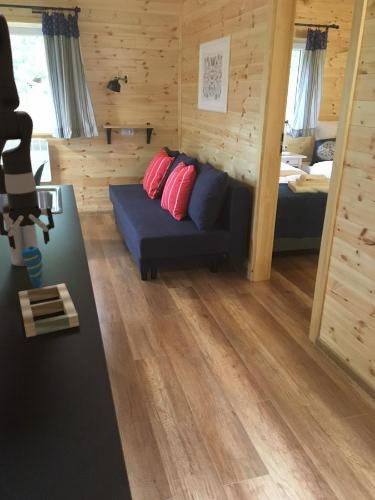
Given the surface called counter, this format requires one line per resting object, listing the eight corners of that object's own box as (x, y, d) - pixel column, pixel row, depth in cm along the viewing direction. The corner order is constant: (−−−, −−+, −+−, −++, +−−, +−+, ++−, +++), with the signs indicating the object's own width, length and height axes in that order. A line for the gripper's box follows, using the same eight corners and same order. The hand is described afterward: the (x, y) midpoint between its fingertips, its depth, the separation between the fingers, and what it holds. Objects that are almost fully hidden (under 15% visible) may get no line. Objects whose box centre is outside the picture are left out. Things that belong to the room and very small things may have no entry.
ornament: (27, 295, 122) (19, 247, 116) (28, 287, 126) (21, 240, 121) (46, 293, 123) (39, 245, 117) (46, 285, 128) (40, 239, 122)
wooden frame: (20, 301, 118) (18, 291, 117) (65, 292, 123) (64, 283, 122) (26, 337, 101) (24, 326, 100) (79, 325, 106) (77, 315, 105)
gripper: (47, 184, 119) (54, 238, 125) (-8, 189, 114) (2, 245, 120) (50, 189, 113) (58, 245, 119) (-8, 195, 108) (3, 254, 113)
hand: (30, 245), depth 119 cm, fingers open, 8 cm apart
